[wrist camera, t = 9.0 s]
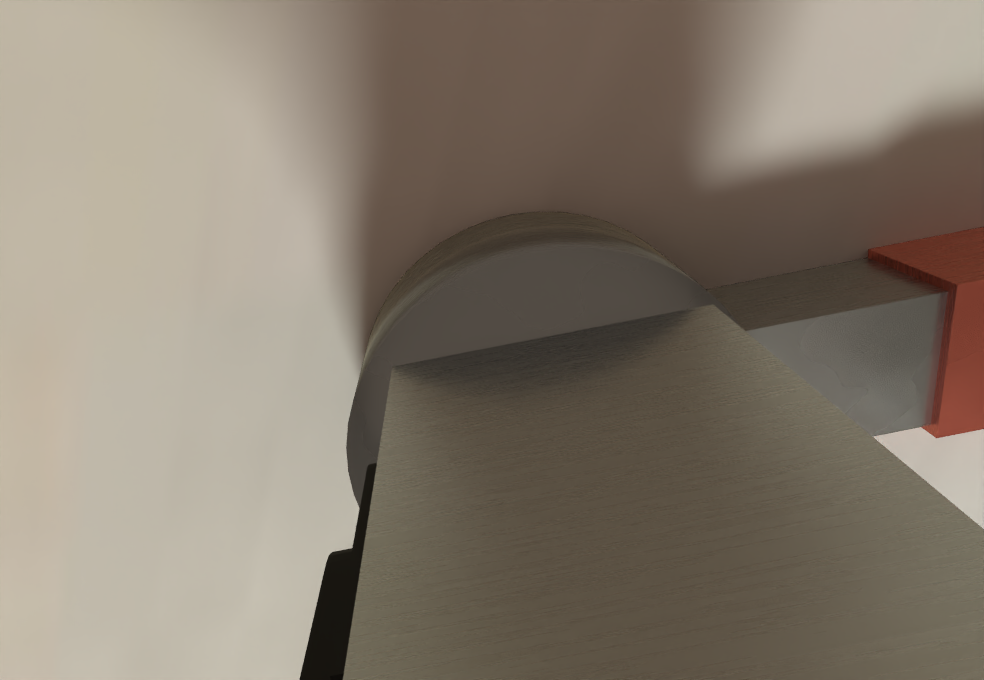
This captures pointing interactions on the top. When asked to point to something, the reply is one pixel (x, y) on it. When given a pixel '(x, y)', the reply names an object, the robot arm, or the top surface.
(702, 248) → the top surface
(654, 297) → the ratchet
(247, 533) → the top surface
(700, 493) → the square aluminium tube
